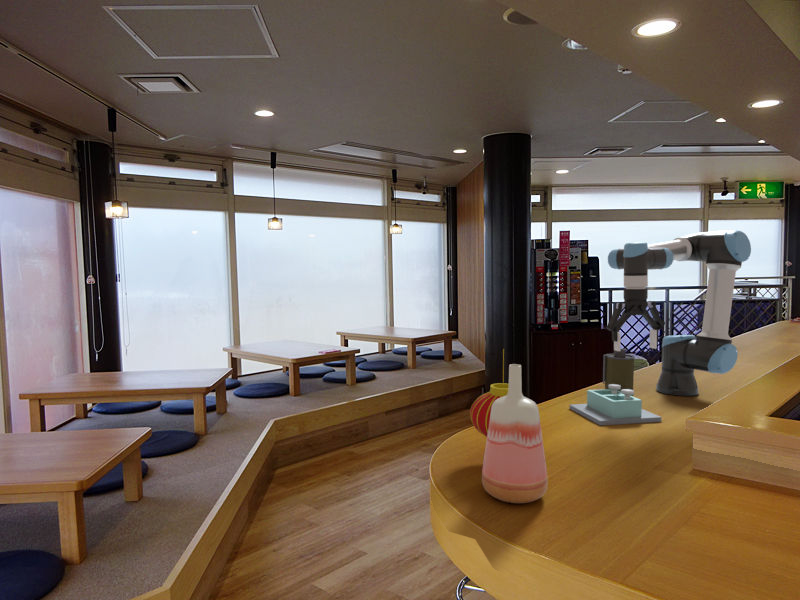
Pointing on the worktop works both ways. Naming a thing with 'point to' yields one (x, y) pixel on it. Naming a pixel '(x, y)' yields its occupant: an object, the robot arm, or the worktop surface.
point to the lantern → (487, 405)
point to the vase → (514, 447)
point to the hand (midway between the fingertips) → (635, 349)
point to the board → (606, 420)
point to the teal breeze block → (614, 403)
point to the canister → (618, 369)
